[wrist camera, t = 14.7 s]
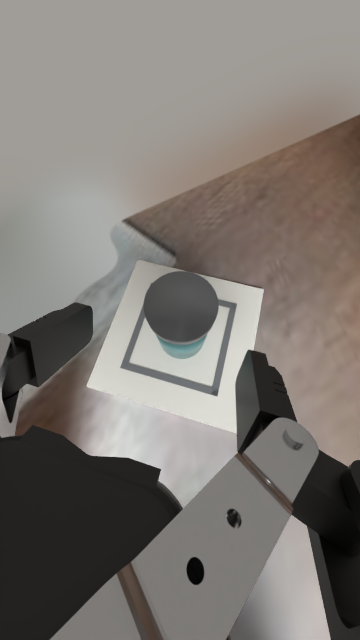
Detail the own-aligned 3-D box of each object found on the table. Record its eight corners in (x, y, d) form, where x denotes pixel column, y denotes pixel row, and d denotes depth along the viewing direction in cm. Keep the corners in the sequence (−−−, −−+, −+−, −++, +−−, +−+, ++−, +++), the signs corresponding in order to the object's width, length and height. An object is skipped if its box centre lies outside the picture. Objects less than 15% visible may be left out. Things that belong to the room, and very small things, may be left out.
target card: (262, 291, 22) (264, 288, 22) (237, 433, 18) (239, 434, 18) (138, 261, 24) (137, 258, 23) (88, 386, 19) (85, 386, 19)
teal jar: (210, 320, 21) (225, 280, 13) (199, 365, 19) (209, 349, 12) (166, 309, 21) (156, 264, 14) (152, 352, 20) (132, 328, 12)
